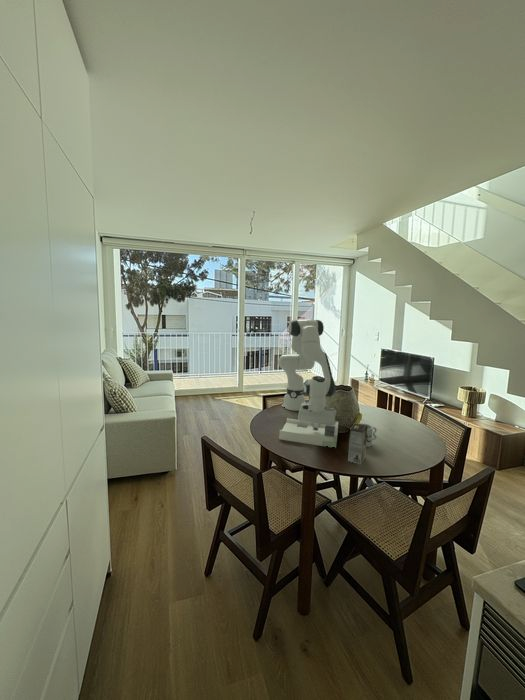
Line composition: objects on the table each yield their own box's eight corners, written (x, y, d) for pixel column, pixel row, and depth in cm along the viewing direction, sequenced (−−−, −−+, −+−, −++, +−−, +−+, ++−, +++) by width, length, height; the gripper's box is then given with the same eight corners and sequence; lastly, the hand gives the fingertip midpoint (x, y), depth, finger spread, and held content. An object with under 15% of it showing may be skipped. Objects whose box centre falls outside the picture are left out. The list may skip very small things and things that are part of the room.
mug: (360, 448, 157) (361, 430, 156) (350, 441, 166) (352, 423, 164) (380, 446, 160) (382, 428, 159) (370, 439, 169) (372, 422, 168)
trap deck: (286, 426, 184) (287, 415, 183) (337, 433, 176) (338, 421, 175) (279, 439, 165) (279, 426, 164) (335, 448, 157) (336, 435, 156)
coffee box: (351, 453, 151) (354, 422, 149) (365, 457, 148) (368, 425, 146) (347, 461, 143) (349, 428, 141) (361, 465, 140) (364, 431, 138)
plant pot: (358, 426, 189) (360, 410, 187) (362, 432, 178) (363, 416, 177) (341, 424, 190) (342, 409, 188) (344, 431, 179) (345, 415, 178)
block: (325, 431, 170) (325, 424, 169) (334, 433, 168) (335, 426, 168) (324, 435, 165) (325, 428, 164) (334, 436, 163) (334, 429, 163)
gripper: (336, 406, 167) (335, 430, 169) (299, 402, 173) (298, 425, 175) (336, 410, 161) (334, 435, 163) (298, 405, 167) (296, 429, 169)
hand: (315, 430), depth 169 cm, fingers closed
